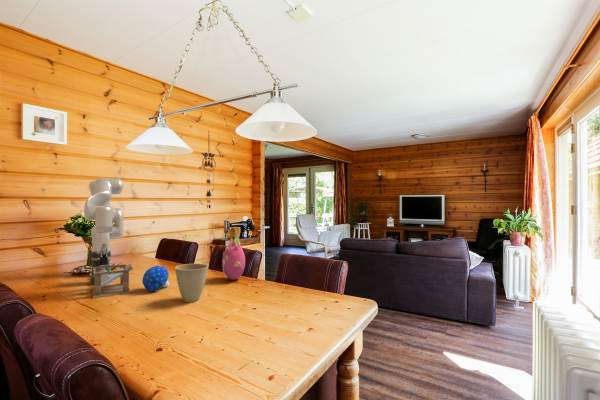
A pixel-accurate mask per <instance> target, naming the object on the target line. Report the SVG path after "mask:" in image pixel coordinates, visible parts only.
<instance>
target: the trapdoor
mask: <svg viewBox="0 0 600 400" xmlns="http://www.w3.org/2000/svg"><path fill="white" fill-rule="evenodd" d="M125 269H129V272H130V271H132V270H133V269H134V268H133V267H132V265H131V264H130V263H128V264H126V266H125V268H124V267H123V268H121V269H120V268H119V269H118V270H117V271H119V270H125ZM122 275H123V273H114V274H110V275H109V276H110V279H108V280H106V281H105V282H103V283H101V287H103V286H105V285H109V284H110V283H112V282H113V281H115V280H116V279H120V276H122Z"/></svg>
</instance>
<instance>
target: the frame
mask: <svg viewBox="0 0 600 400" xmlns="http://www.w3.org/2000/svg"><path fill="white" fill-rule="evenodd" d="M125 266H127V264H126V263H123V264H115V265H110V266H103V267H93V273H94V276H95V280H94V285H93V287H92V299H98V298H99V299H101V298H105V297H113V296H119V295H125V294H131V288H130V284H129V283H130V271H129V269H125V270H119V269H121V268H123V267H124V268H125ZM106 268H110V269H115V268H119V269H118V270H119V271H118V270H110V272H99V271H100V269H106ZM97 272H98V273H97ZM114 273H123V275H122V276H120V277H119V279H120V281H119V283H115V284H107V285H105V286H103V287H101V275H105V274H114Z"/></svg>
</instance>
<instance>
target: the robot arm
mask: <svg viewBox="0 0 600 400" xmlns="http://www.w3.org/2000/svg"><path fill="white" fill-rule="evenodd" d="M88 188H89V192H90V195H91V196H89V197H88V198H87V199H86V200H85V202H84V205H83V206H84V209H83V216H84V218H85V219H86V220H88V221H95V225H94V226H93V227H91V230H90V234H91V241H92V252H94V251H97V253H99V252H100V265H107V264H108V257H107V252H109V251H110V252H111V245H110V241H111V240H119V239H122V238H123V237H124V212H123V210H122V208H120V207H114V206H113V205H111V199H112V198H113V195H121V194H122V192H123V190H124V183H123V181H122V180H121V179H120V178H117V177H114V178H112V177H99V178H97V179H95V180H92V181H90V182H89V184H88ZM113 223H114V224H113ZM89 277H91V272H90V273H89Z"/></svg>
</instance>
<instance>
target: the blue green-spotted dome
mask: <svg viewBox="0 0 600 400" xmlns="http://www.w3.org/2000/svg"><path fill="white" fill-rule="evenodd" d="M169 274H170V273H169V270H168V269H167V267H166V266H161V265H154V266H151V267H149V268H148V269H147V270H145V272H144V274H143V277H142V280H141V281H142V285H143V286H144V289H145V290H146V291H148V292H157V291H160V290H161V289H162V288H168V287H169V286H170V282H169Z"/></svg>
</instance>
